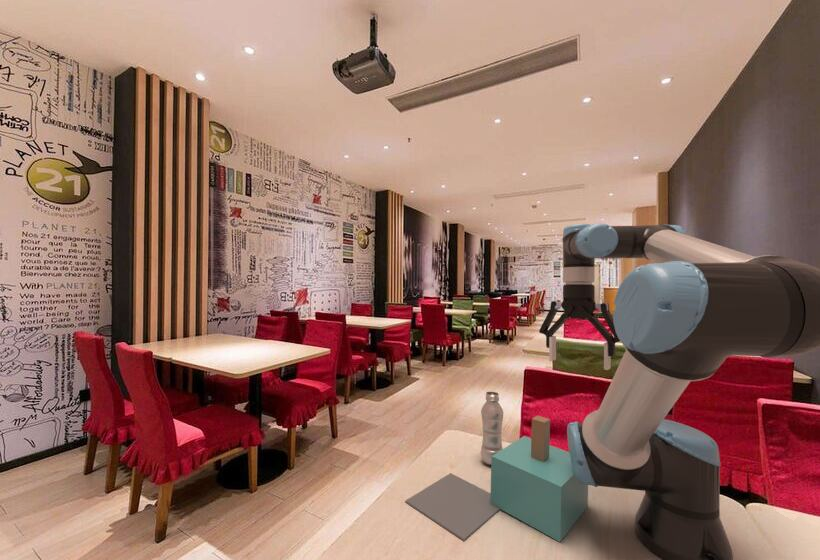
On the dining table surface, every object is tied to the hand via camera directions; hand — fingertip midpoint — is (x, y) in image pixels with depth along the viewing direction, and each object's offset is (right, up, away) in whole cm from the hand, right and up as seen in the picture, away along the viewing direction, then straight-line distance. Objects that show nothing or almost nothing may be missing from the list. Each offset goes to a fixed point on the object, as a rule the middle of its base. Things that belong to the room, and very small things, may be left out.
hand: (578, 364), depth 89 cm
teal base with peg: (-14, -30, -10) cm, 35 cm away
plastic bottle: (-21, -31, +9) cm, 38 cm away
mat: (-34, -30, -9) cm, 46 cm away
